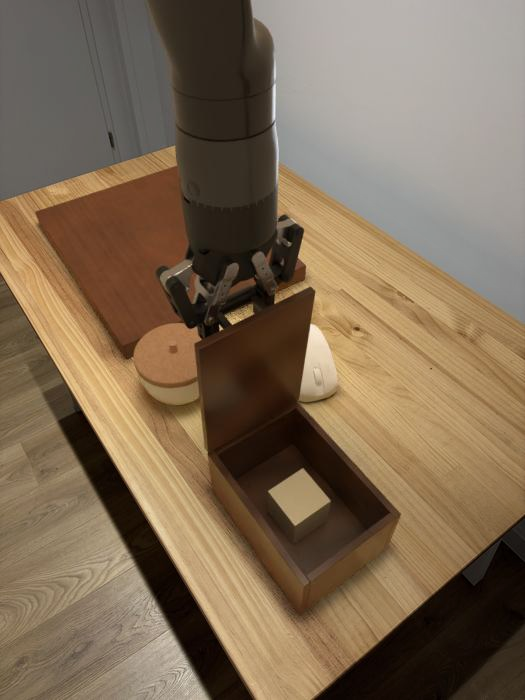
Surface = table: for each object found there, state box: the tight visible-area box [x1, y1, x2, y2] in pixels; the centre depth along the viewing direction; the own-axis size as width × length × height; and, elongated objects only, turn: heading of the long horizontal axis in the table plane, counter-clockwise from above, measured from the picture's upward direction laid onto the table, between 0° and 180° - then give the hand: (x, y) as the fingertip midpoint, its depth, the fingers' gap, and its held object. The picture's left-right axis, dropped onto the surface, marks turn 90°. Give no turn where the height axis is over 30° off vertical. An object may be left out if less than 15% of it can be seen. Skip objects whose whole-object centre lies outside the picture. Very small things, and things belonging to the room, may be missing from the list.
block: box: [268, 468, 331, 544], centre depth 63 cm, size 5×5×5 cm
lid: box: [194, 285, 316, 453], centre depth 57 cm, size 18×13×5 cm
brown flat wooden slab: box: [34, 165, 307, 360], centre depth 98 cm, size 40×3×33 cm
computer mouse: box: [298, 323, 339, 403], centre depth 78 cm, size 6×13×6 cm, turn 16°
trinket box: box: [132, 323, 202, 406], centre depth 75 cm, size 11×11×9 cm
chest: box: [206, 401, 402, 616], centre depth 62 cm, size 18×13×9 cm
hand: (237, 329), depth 54 cm, fingers open, 5 cm apart
